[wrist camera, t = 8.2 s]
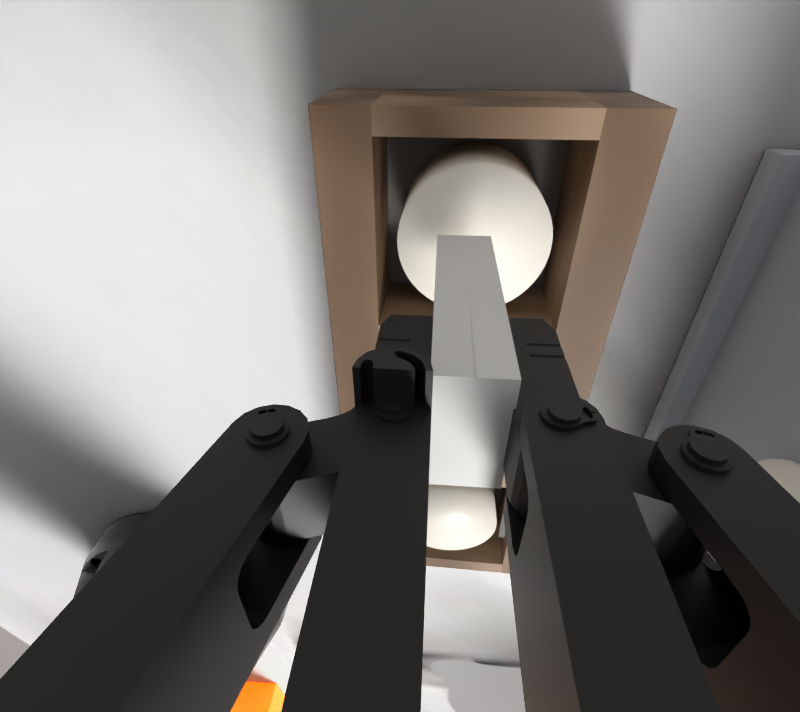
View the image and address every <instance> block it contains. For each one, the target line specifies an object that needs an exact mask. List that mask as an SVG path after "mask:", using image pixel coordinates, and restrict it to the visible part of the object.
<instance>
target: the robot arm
mask: <svg viewBox="0 0 800 712" xmlns="http://www.w3.org/2000/svg"><path fill="white" fill-rule="evenodd" d="M352 373H353V386H354V400H355V407H354V408H352V409H351V410H349V411H347V412H345V413H343V414H341V415H338V416H335V417H331V418H327V419H321V420H316V421H310V422H308V420H307V418H306V417H305V416H304V415H303V413H302V412H301V411H300V410H297V409H295V408H293V407H290V406H286V405H268V406H262V407H258V408H256V409H253V410H251V411H249V412H246V413H244V414H243V415H242V416H240V417H239V418H238V419H237V420H235V421H234V422H233V423H232V424H231V425H230V426H229V427H228V429H227V430H226V431H225V432H224V433H223V434H222V435H221V436H220V437H219V439H218V440H217V441H216V442H215V443H214V444H213V445H212V446H211V447H210V448H209V450H208V451H207V452H206V453H205V454H204V455H203V456H202V457H201V458H200V459H199V461H198V462H197V463H196V464H195V465H194V466H193V467H192V468H191V469H190V471H189V472H188V473H187V474H186V475H185V476H184V477H183V478H182V479H181V480H180V482H179V483H178V484H177V485H176V486H175V487H174V488H173V489H172V490H171V491H170V493H169V494H168V495H167V496H166V497H165V498H164V499H163V500H162V501H161V502H160V504H159V505H158V506H157V507H156V508H155V509H154V510H153V511H152V512H151V513H145V514H137V515H132V516H128V517H125V518H122V519H119V520H117V521H116V522H114V523H112V524H111V525H110V526H109V527H108V528H107V529H106V530H105V531H104V533H103V534H102V536H101V537H100V538H99V540H98V541H97V543H96V544H95V546H94V547H93V549H92V550H91V552H90V553H89V555H88V556H87V558H86V560H85V563H84V566H83V569H82V573H81V576H80V579H79V582H78V585H77V588H76V591H75V595H74V598H73V600H72V601H71V602H70V603H69V604H68V605H67V606H66V607H65V608H64V610H63V611H62V612H61V613H60V614H59V615H58V616H57V617H56V618H55V619H54V621H53V622H52V623H51V624H50V625H49V626H48V627H47V628H46V629H45V630H44V632H43V633H42V634H41V635H40V636H39V637H38V638H37V639H36V640H35V641H34V643H33V644H32V645H31V646H30V647H29V648H28V649H27V650H26V652H25V653H24V654H23V655H22V656H21V657H20V658H19V659H18V660H17V661H16V662H15V664H14V665H13V666H12V667H11V668H10V669H9V670H8V671H7V672H6V674H5V675H4V676H3V677H2V678H1V679H0V712H230V711H231V710H232V708H233V706H234V704H235V702H236V700H237V698H238V696H239V694H240V692H241V690H242V689H243V687H244V685H245V683H246V681H247V679H248V677H249V675H250V673H251V671H252V670H253V668H254V666H255V665H256V663H257V661H258V660H259V658H260V657H261V655H262V654H263V652H264V650H265V649H266V647H267V646H268V644H269V643H270V641H271V639H272V638H273V636H274V635H275V633H276V632H277V630H278V628H279V627H280V625H281V622H282V620H283V617H284V614H285V611H286V607H287V604H288V601H289V599H290V597H291V595H292V593H293V591H294V590H295V588H296V586H297V584H298V582H299V580H300V578H301V576H302V574H303V572H304V571H305V569H306V567H307V565H308V563H309V561H310V559H311V557H312V555H313V553H314V552H315V550H316V548H317V546H318V544H319V542H320V540H321V537H322V535H324V536H323V540H322V544H321V548H320V552H319V557H318V561H317V565H316V569H315V573H314V577H313V581H312V586H311V590H310V594H309V598H308V602H307V606H306V610H305V615H304V619H303V623H302V627H301V631H300V635H299V639H298V643H297V648H296V652H295V656H294V660H293V664H292V668H291V672H290V677H289V681H288V685H287V689H286V693H285V697H284V701H283V706H282V710H281V712H420V710H421V683H422V656H423V629H424V601H425V574H426V547H427V520H428V493H429V484H437V485H452V486H467V487H483V488H498V489H501V486H502V481H503V476H505V483H506V491H507V492H506V497H505V502H504V508H503V513H502V518H501V523H500V528H499V536H498V537H503V538H504V536H505V533H506V542H507V550H508V559H509V568H510V577H511V586H512V595H513V603H514V612H515V621H516V630H517V639H518V648H519V656H520V665H521V674H522V683H523V692H524V701H525V709H526V712H800V503H799V502H798V501H797V500H796V499H795V498H794V497H793V496H792V495H791V494H790V493H789V492H787V491H786V490H785V489H784V488H783V487H782V486H781V485H780V484H779V483H778V482H777V481H776V480H775V479H774V478H773V477H772V476H771V475H770V474H769V473H768V472H767V471H766V470H765V469H764V468H763V467H762V466H761V465H760V464H759V463H758V462H756V461H755V460H754V459H753V458H752V457H751V456H750V455H749V454H748V453H747V452H746V451H745V450H744V449H743V448H741V447H740V446H739V445H737V444H736V443H735V442H733V441H732V440H731V439H729V438H727V437H725V436H723V435H721V434H719V433H717V432H715V431H713V430H709V429H706V428H702V427H698V426H694V425H676V426H673V427H670V428H667V429H665V430H664V431H663V432H662V433H661V434H660V436H659V437H658V439H657V441H652V440H648V439H645V438H641V437H637V436H634V435H630V434H627V433H624V432H621V431H618V430H615V429H612V428H611V427H609V426H607V425H606V424H605V421H604V419H603V417H602V416H601V414H600V413H599V411H598V410H597V409H596V408H595V407H594V406H592V405H591V404H590V403H588V402H587V401H586V400H584V399H581V398H580V396H579V394H578V391H577V388H576V385H575V383H574V380H573V377H572V374H571V372H570V369H569V366H568V363H567V361H566V359H565V355H564V352H563V350H562V347H561V344H560V341H559V339H558V336H557V333H556V331H555V330H554V329H553V328H552V327H551V326H550V325H549V324H548V323H546V322H545V321H544V320H543V319H534V318H509V317H508V314H507V310H506V305H505V300H504V296H503V291H502V286H501V281H500V277H499V272H498V267H497V263H496V258H495V253H494V249H493V244H492V239H491V236H467V235H437V250H436V271H435V291H434V312H433V316H422V315H397V314H391V315H390V316H389V317H388V318H387V319H386V320H385V321H384V322H383V323H382V324H381V325H380V329H379V334H378V339H377V343H376V347H375V350H371V351H368V352H366V353H365V354H363V355H362V356H360V357H359V358H358V359H357V360H356V362H355V363H354V365H353V367H352ZM708 552H709V553H710V554H711V556H712V557H713V558H714V559H713V558H712V557H711V556H710V554H709V553H708Z"/></svg>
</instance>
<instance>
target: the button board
mask: <svg viewBox="0 0 800 712" xmlns="http://www.w3.org/2000/svg"><path fill="white" fill-rule="evenodd" d="M308 110H309V120H310V129H311V139H312V148H313V158H314V167H315V177H316V187H317V196H318V206H319V215H320V225H321V235H322V244H323V254H324V263H325V273H326V282H327V292H328V302H329V311H330V321H331V330H332V340H333V350H334V359H335V369H336V378H337V388H338V398H339V407H340V415H341V414H343V413H345V412H347V411H349V410H351V409H352V408H354V407H355V400H354V386H353V373H352V367H353V365H354V363H355V362H356V360H357V359H358V358H359V357H360V356H362V355H363V354H365V353H366V352H368V351H371V350H375V347H376V343H377V339H378V334H379V329H380V325H381V324H382V323H383V322H384V321H385V320H386V319H387V318H388V317H389V316H390V315H391V314H397V315H422V316H433V312H434V301H432V300H430V299H429V298H427V297H426V296H424V295H423V294H422V293H421V292H420V291H418V290H417V288H416V287H415V286H414V285H413V284H412V283H411V281H410V280H409V278H408V277H407V275H406V273H405V272H404V270H403V267H402V265H401V262H400V259H399V254H398V246H397V235H398V228H399V223H400V219H401V216H402V212H403V209H404V205H405V202H406V198H407V195H408V192H409V189H410V186H411V184H412V182H413V180H414V178H415V177H416V175H417V174H418V172H419V171H420V169H421V168H422V167H423V166H424V165H425V164H426V163H427V162H428V161H429V160H430V159H431V158H432V157H434V156H435V155H437V154H438V153H440V152H441V151H443V150H445V149H447V148H450V147H453V146H456V145H459V144H464V143H472V142H480V143H489V144H493V145H497V146H499V147H502V148H504V149H506V150H508V151H509V152H511V153H513V154H514V155H515V156H517V157H518V158H519V159H520V160H521V161H522V162H523V163H524V164H525V165H526V167H527V168H528V169H529V171H530V172H531V174H532V176H533V178H534V180H535V182H536V184H537V186H538V188H539V190H540V192H541V194H542V196H543V198H544V200H545V202H546V205H547V207H548V209H549V212H550V215H551V220H552V226H553V240H552V247H551V251H550V255H549V258H548V260H547V263H546V265H545V267H544V269H543V270H542V272H541V274H540V275H539V276H538V278H537V279H536V280H535V282H534V283H533V284H532V285H531V286H530V287H529V288H528V289H527V290H526V291H524V292H523V293H522V294H521V295H519V296H518V297H516V298H514V299H513V300H511V301H509V302H507V303H505V305H506V310H507V314H508V317H509V318H534V319H543V320H544V321H545V322H546V323H548V324H549V325H550V326H551V327H552V328H553V329H554V330H555V331H556V333H557V336H558V339H559V341H560V344H561V347H562V350H563V352H564V355H565V359H566V361H567V363H568V366H569V369H570V372H571V374H572V377H573V380H574V383H575V385H576V388H577V391H578V394H579V396H580V398H581V399H584V400H586V401H587V400H588V397H589V394H590V391H591V387H592V384H593V381H594V378H595V374H596V371H597V368H598V365H599V361H600V358H601V355H602V352H603V348H604V345H605V342H606V339H607V335H608V332H609V329H610V325H611V322H612V319H613V316H614V312H615V309H616V306H617V303H618V299H619V296H620V293H621V290H622V286H623V283H624V280H625V277H626V273H627V270H628V267H629V264H630V260H631V257H632V254H633V251H634V247H635V244H636V241H637V237H638V234H639V231H640V228H641V224H642V221H643V218H644V215H645V211H646V208H647V205H648V202H649V198H650V195H651V192H652V189H653V185H654V182H655V179H656V176H657V172H658V169H659V166H660V163H661V159H662V156H663V153H664V149H665V146H666V143H667V140H668V136H669V133H670V130H671V127H672V123H673V120H674V117H675V114H676V110H677V109H676V108H673V107H671V106H668V105H666V104H663V103H660V102H658V101H655V100H653V99H650V98H648V97H645V96H643V95H640V94H637V93H635V92H632V91H565V90H450V89H336V90H334V91H332V92H330V93H328V94H326V95H325V96H323V97H321V98H319V99H317V100H315V101H314V102H312V103H310V104H308ZM506 492H507V491H506V483H505V476H503V481H502V486H501V489H498V488H494V494H495V506H496V519H497V526H496V529H495V532H494V533H493V535H492V536H491V537H490V538H489V539H488V540H487V541H485V542H484V543H482V544H480V545H478V546H475V547H472V548H468V549H463V550H441V549H435V548H431V547H428V546H427V547H426V566H436V567H447V568H458V569H468V570H479V571H490V572H501V573H510V568H509V559H508V550H507V542H506V533H505V536H504V538H503V537H498V536H499V528H500V523H501V518H502V513H503V508H504V502H505V497H506Z"/></svg>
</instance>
